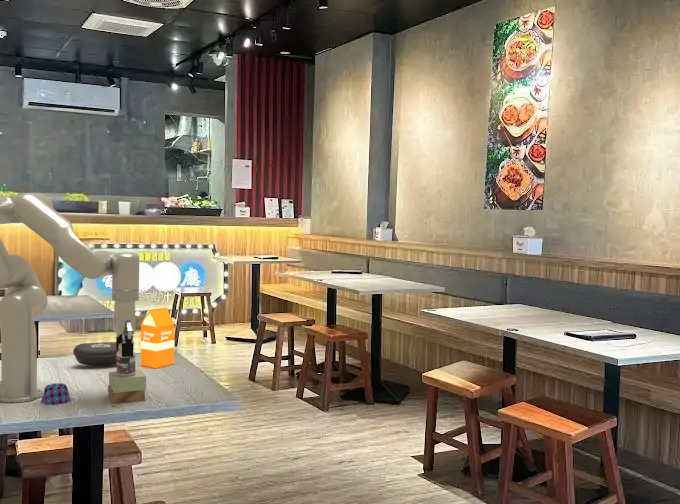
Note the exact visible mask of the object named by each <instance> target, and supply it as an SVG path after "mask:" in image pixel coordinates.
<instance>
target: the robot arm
mask: <svg viewBox="0 0 680 504" xmlns="http://www.w3.org/2000/svg"><path fill="white" fill-rule="evenodd" d="M6 224H7V225H10V224H23V225H24V226H26V227H27V228H29V229H30V230H31V231H33V233H35V234H36V235H37V236H39V237H40V238H41V239H43V240H44V241H45V242H46V243H48V244H49V245H50V246H51V248H52V249H53V251H54V252H55V253H56V254H57V256H59V258H60V259H61V260H62V261H63V262H64V263H65V264H66V265H67V266H69V267H70V268H71V269H72V270H74V271H75V272H77V274H79V275H81V276H82V277H84V278H85V279H88V280H89V279H90V280H96V279H99V278H103V277H108V276H111V282H112V283H111V301H114V303H113V304H114V306H113V323H112V331H113V332H114V333H115V335H116V338H115V339H116V340H115V342H116V349H117V350H119V344H120V343H122V357H132V356H133V351H134V335H135V333H136V332H135V331H136V302H137V301H140V300H139V299H140V257H139V255H138V253H134V252H114V251H108V250H98V251H93V250H92V249H91V248H90V247H88V246H87V245H85V243H83V242H82V240H80V238H78V236H76V234H75V232H74V227H73V225H72V222H71V221H69V220H68V219H67V218H66V217H65V216H64V215H62V214H61V213H60V212H58V211H57V210H56V209H54V204H53V201H52V200H51V198H49V197H48V196H47V195H46V194H43V193H41V192H40V193H38V192H26V193H21V194H11V195H10V194H9V195H0V225H6ZM5 289H7V291H8V292H7V293H6V294H5V295H4V296H2V298H1V299H0V347H1V348H0V358H1V359H0V363H1V364H0V365H1V366H0V367H1V373H0V374H1V380H0V402H1V403H11V402H13V403H14V404H15V403H23V402H25V403H26V402H30V401H35V400H36V399H39V398H42V397H43V393H44V390H42V389H40V388H38V345H37V340H38V339H37V329H36V328H37V327H36V324H35V318H37V317H39V316H41V315H42V314H43V313H44V312H45V311H46V310H47V308H48V302H49V300H48V296H47V294H46V292H45V289H44V288H43V286H42V283H41V282H40V280H39V278H38V276H37V274H36V272H35V271H34V268H33V267H32V265H31V264H30V262H29V261H28V260H27V259H26V258H24V257H23V256H21V255H18V254H10V253H9V251H8V250H7V249H6V247H5V244H4V242H3V241H2V239H1V238H0V290H5ZM13 403H11V404H13Z"/></svg>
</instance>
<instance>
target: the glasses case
mask: <svg viewBox="0 0 680 504" xmlns="http://www.w3.org/2000/svg"><path fill="white" fill-rule="evenodd" d="M118 351H119V350H117V349H116V341H106V342H104V341H102V342H87V343H86V342H84V343H78V344H77V345H76V346H75V347H74V349H73V350H72V352H73V353H72V354H73V355H74V357H75V360H76V361H77V362H78V364H80V365H81V364H82V365H84V366H94V367H95V366H97V367H101V366H112V365H117V359H116V354H117V352H118Z"/></svg>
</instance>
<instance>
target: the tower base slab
mask: <svg viewBox="0 0 680 504" xmlns="http://www.w3.org/2000/svg"><path fill="white" fill-rule="evenodd" d="M107 386H108V387H107V389H108V390H107V391H108V393H107V394H108V395H107V397H108V398H109V401H110V402H111V403H112V404H113V405H114V404H116V405H117V404H124V403H125V404H126V403H133V402H144V401H146V399H145V398H146V393H145V392H146V390H139V391H129V392H118V393H114V392H113V390H112V389H111V387H110V386H109V384H108V385H107Z"/></svg>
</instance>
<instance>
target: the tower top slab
mask: <svg viewBox="0 0 680 504" xmlns="http://www.w3.org/2000/svg"><path fill="white" fill-rule="evenodd" d="M108 385H109V386H110V387H111V389H112V390H113V392H114V393H118V392H129V391H139V390H145V391H147V375H146V374H145V373H144V372H143V371H142V370H141V369H135V373H134V374H133V375H130V376H120V375H118V374H117V370H115V371H108Z"/></svg>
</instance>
